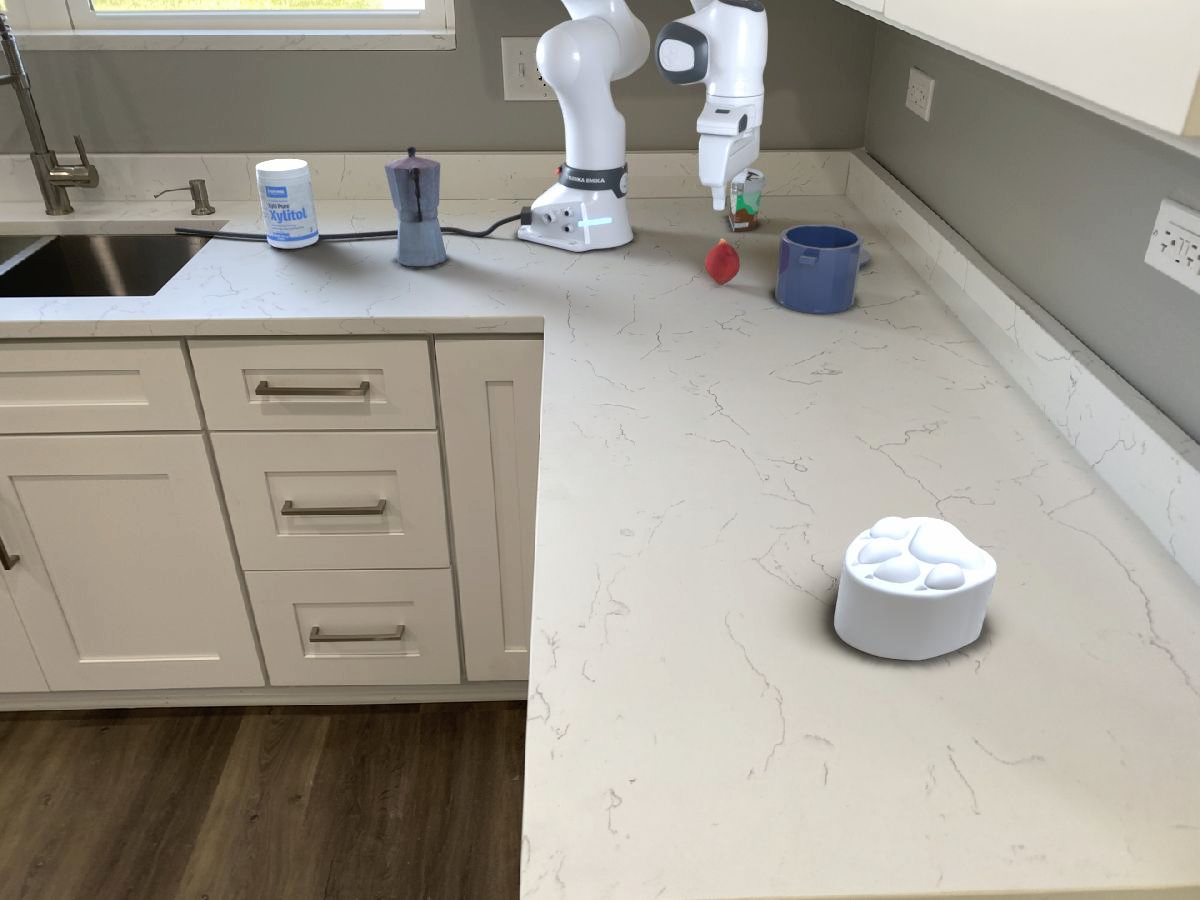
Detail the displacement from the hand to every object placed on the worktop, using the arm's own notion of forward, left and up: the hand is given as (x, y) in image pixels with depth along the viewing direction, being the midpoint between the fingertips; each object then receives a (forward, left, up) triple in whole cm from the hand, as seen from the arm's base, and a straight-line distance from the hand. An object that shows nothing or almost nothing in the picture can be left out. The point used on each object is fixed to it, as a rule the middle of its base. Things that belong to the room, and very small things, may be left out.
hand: (729, 201), depth 150 cm
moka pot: (-53, -11, -14) cm, 56 cm away
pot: (+16, 0, -14) cm, 21 cm away
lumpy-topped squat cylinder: (+42, -74, -14) cm, 86 cm away
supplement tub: (-82, -12, -14) cm, 85 cm away
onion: (0, 0, -14) cm, 14 cm away
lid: (+14, +20, -14) cm, 28 cm away
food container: (-6, +34, -14) cm, 37 cm away
